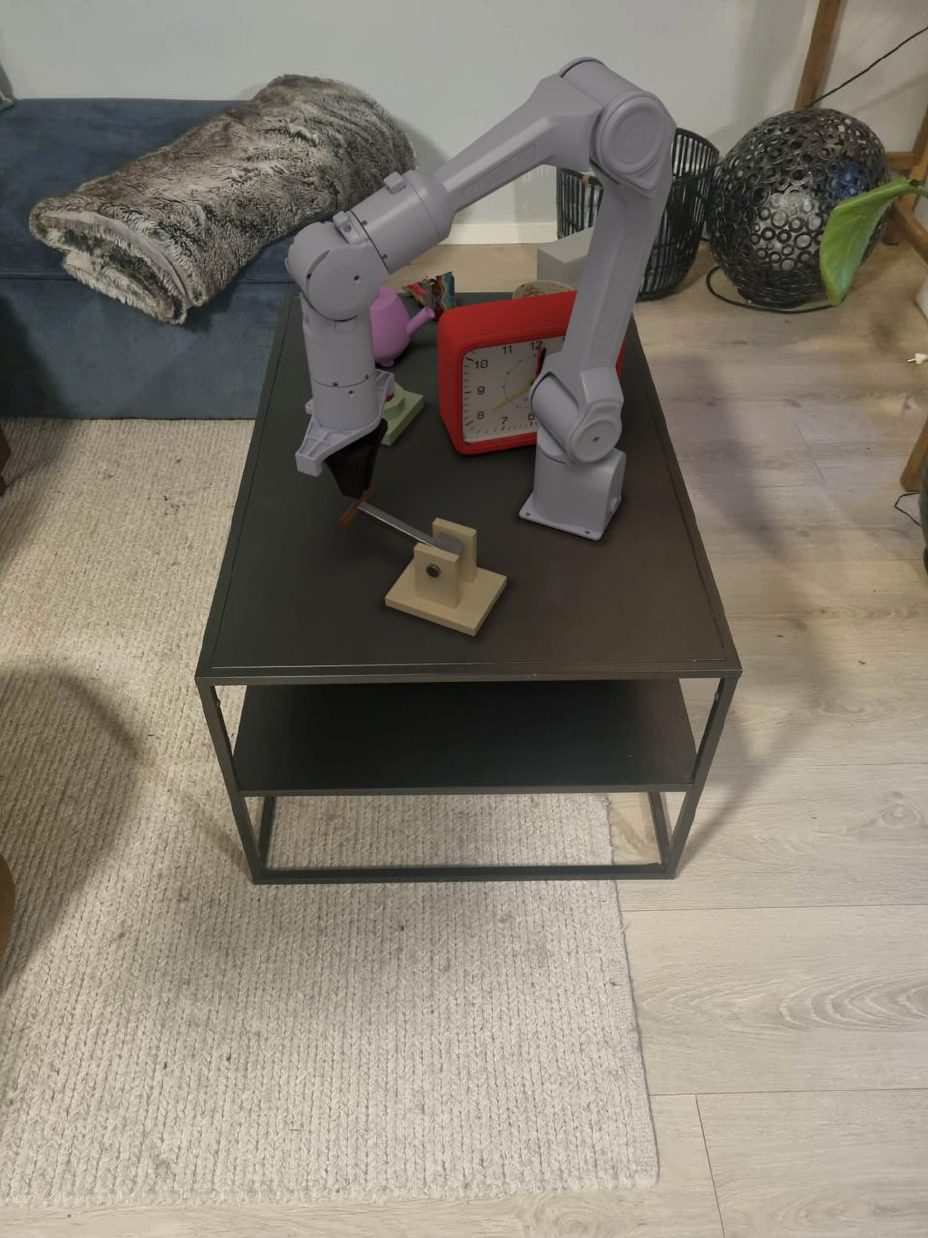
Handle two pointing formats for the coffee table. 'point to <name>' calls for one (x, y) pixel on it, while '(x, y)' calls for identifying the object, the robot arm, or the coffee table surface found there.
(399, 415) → the button box
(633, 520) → the coffee table surface
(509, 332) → the alarm clock
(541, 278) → the cosmetics box
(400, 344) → the teapot
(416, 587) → the bracket
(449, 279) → the multicoloured jagged piece
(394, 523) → the lever
